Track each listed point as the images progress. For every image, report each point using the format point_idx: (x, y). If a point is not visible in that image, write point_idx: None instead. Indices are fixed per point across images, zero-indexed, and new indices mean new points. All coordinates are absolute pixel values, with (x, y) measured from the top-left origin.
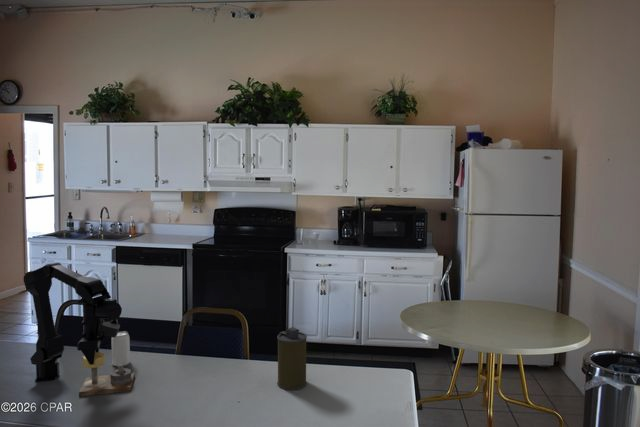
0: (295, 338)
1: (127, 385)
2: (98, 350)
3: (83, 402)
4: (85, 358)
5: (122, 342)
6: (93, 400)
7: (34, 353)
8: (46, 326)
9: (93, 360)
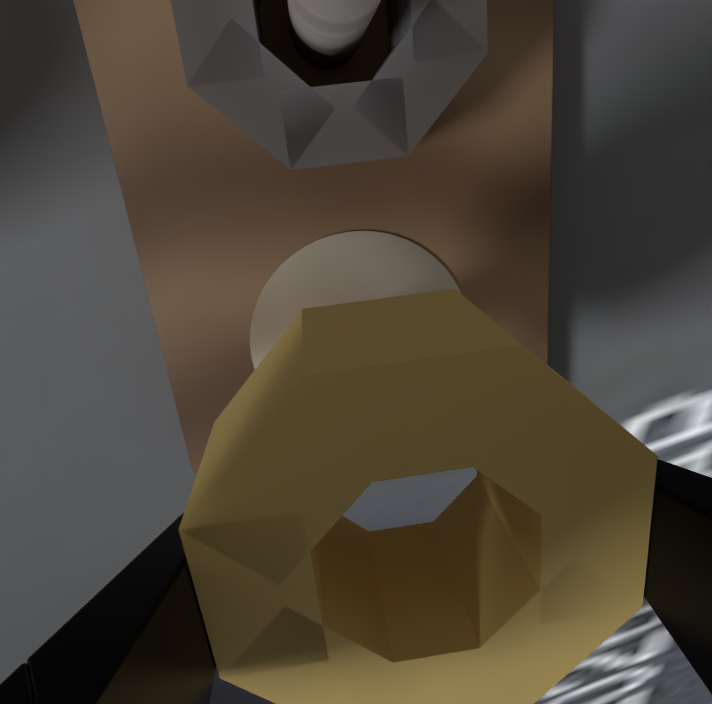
0: None
1: None
2: (164, 586)
3: (660, 323)
4: (564, 662)
5: None
6: (649, 246)
7: None
8: None
9: (702, 480)
